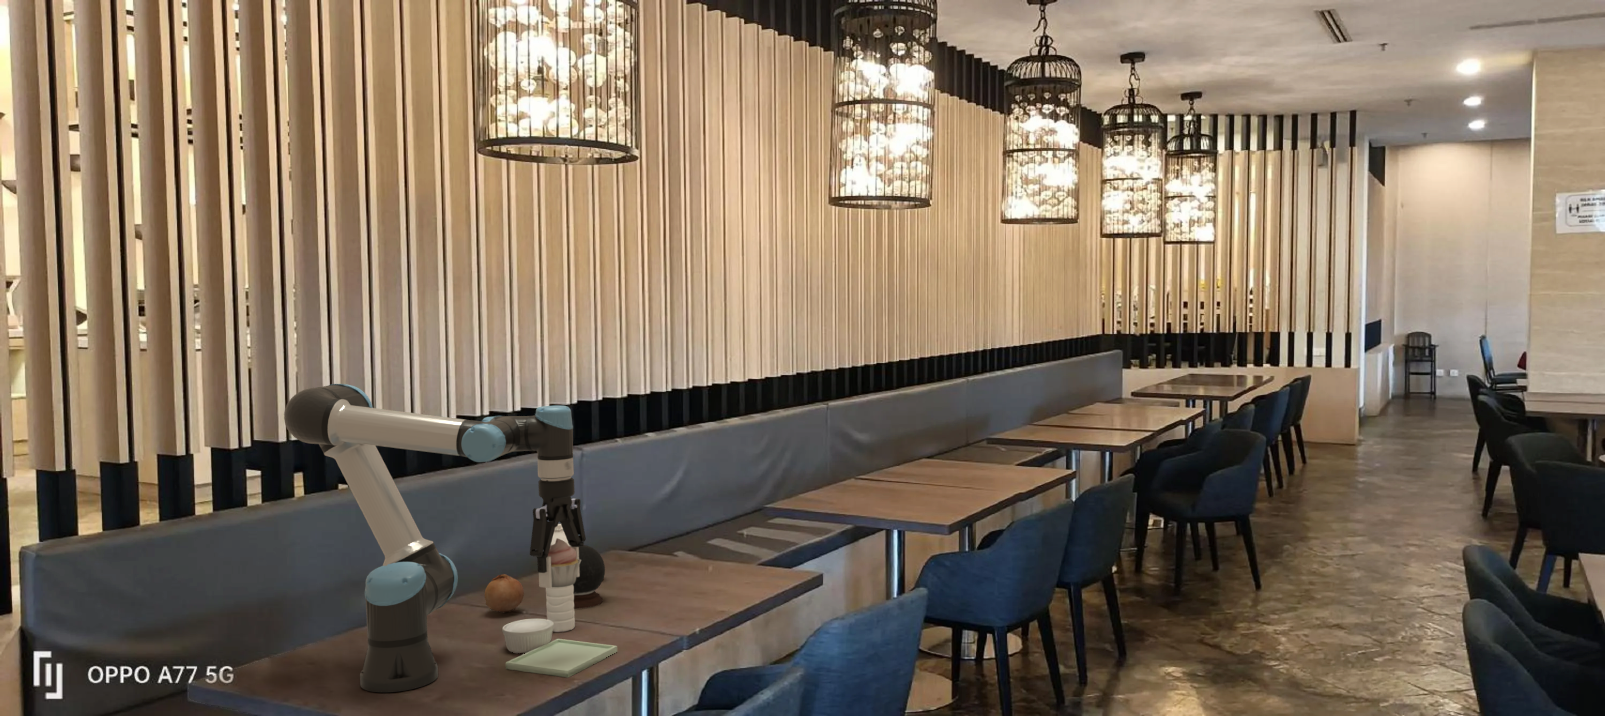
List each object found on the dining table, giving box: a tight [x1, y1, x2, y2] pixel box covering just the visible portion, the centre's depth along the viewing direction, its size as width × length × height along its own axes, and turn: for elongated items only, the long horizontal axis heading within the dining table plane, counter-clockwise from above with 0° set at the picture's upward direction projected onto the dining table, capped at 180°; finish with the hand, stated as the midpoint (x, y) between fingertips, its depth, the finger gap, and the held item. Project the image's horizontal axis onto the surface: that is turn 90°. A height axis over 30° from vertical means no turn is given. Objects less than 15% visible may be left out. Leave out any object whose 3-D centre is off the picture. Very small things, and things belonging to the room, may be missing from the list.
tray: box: [505, 638, 618, 678], centre depth 246 cm, size 18×16×1 cm
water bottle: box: [545, 523, 576, 633], centre depth 271 cm, size 9×6×25 cm
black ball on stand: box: [573, 544, 606, 610], centre depth 294 cm, size 13×13×15 cm
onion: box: [484, 573, 525, 614], centre depth 285 cm, size 10×9×10 cm
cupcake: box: [537, 538, 581, 587], centre depth 245 cm, size 9×9×10 cm
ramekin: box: [501, 618, 554, 655], centre depth 256 cm, size 11×11×5 cm
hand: (559, 581), depth 246 cm, fingers closed on cupcake, 9 cm apart
